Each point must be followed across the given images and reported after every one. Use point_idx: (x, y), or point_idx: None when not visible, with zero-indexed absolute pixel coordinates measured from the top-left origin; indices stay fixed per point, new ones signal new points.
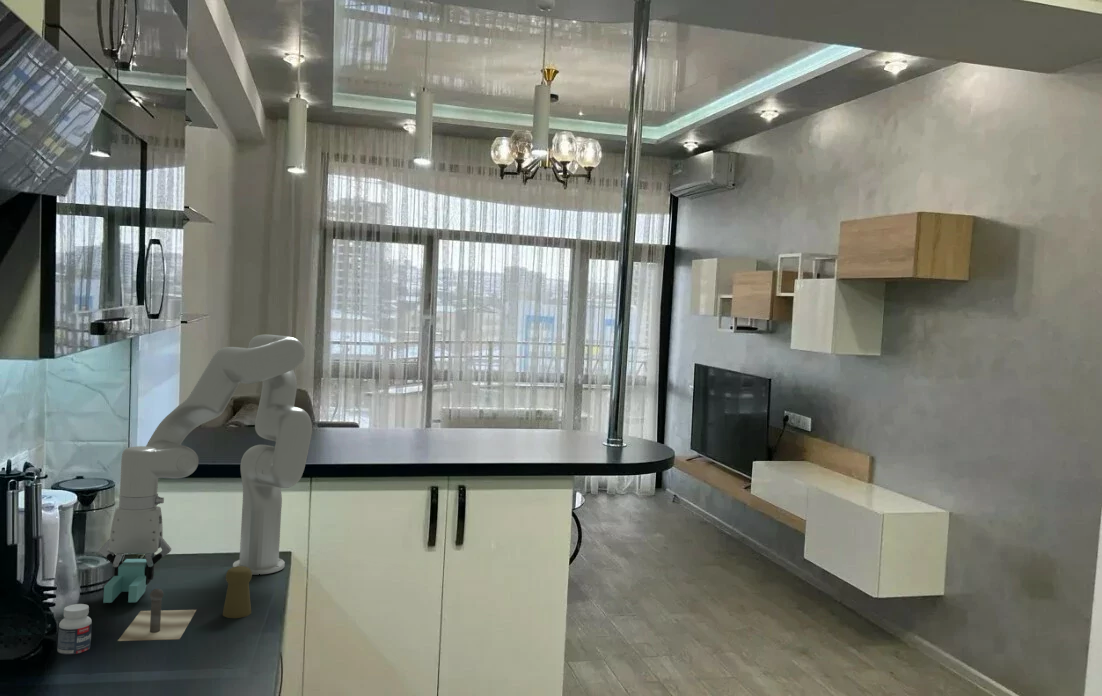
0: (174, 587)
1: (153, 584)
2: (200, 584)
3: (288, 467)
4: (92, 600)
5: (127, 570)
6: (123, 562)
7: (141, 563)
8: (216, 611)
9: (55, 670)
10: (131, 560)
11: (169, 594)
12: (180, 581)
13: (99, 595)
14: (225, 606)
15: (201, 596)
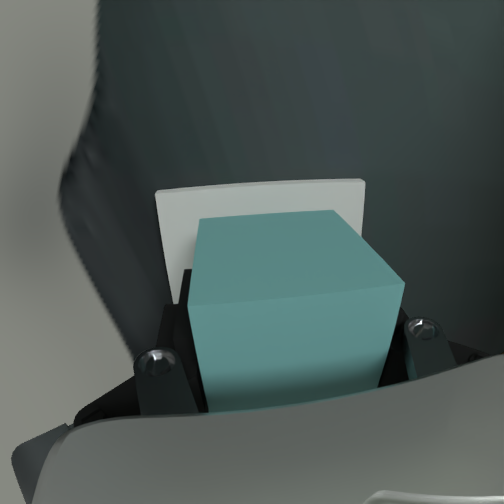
0: (409, 115)
1: (304, 54)
2: (484, 93)
3: None
4: (109, 291)
5: None
6: (209, 391)
7: (348, 391)
8: (490, 341)
9: None
10: (254, 344)
11: (402, 211)
12: (413, 30)
13: (102, 231)
14: None
15: (488, 235)
